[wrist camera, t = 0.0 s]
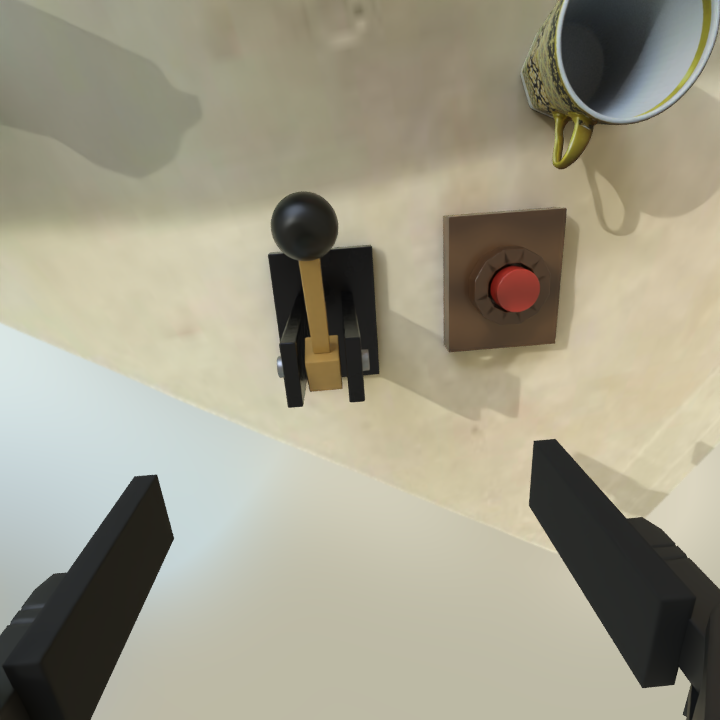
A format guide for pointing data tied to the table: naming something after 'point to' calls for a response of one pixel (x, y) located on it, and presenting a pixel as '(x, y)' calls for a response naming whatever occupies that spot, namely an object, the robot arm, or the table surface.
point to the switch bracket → (344, 315)
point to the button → (515, 288)
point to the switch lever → (311, 277)
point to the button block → (484, 260)
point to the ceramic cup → (615, 62)
